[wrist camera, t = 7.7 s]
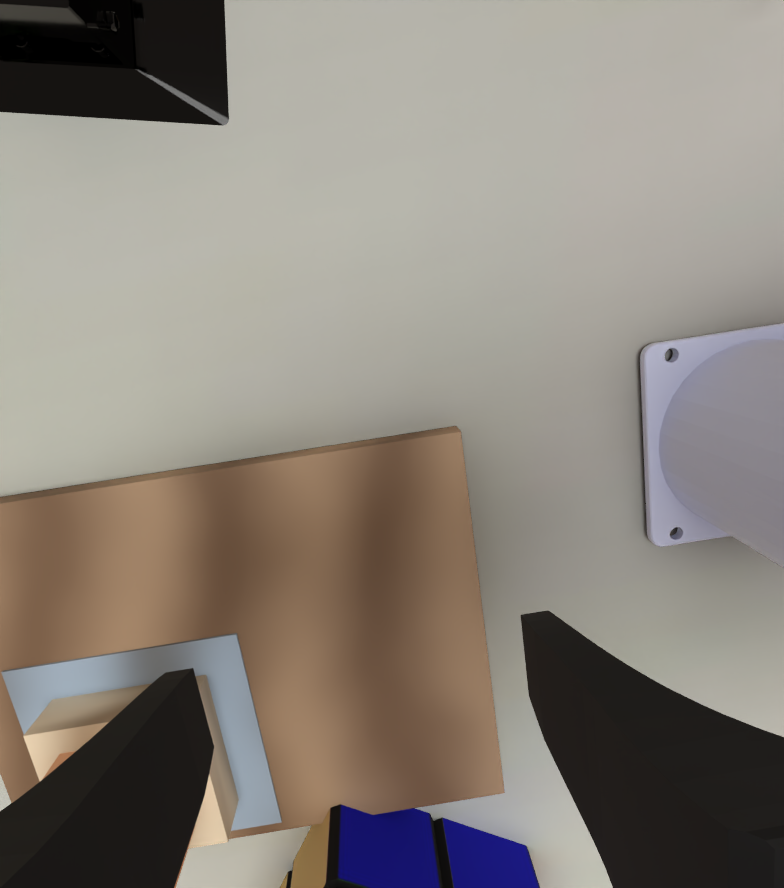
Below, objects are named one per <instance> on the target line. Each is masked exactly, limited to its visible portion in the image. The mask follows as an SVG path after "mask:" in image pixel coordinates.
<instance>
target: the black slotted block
mask: <svg viewBox="0 0 784 888" xmlns="http://www.w3.org/2000/svg"><path fill="white" fill-rule="evenodd" d="M0 112H12V113H28V114H45V115H61V116H78V117H94V118H111V119H127V120H143V121H160V122H176V123H193V124H209V125H226V124H227V123H228V120H229V114H228V88H227V62H226V35H225V9H224V0H0Z"/></svg>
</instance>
